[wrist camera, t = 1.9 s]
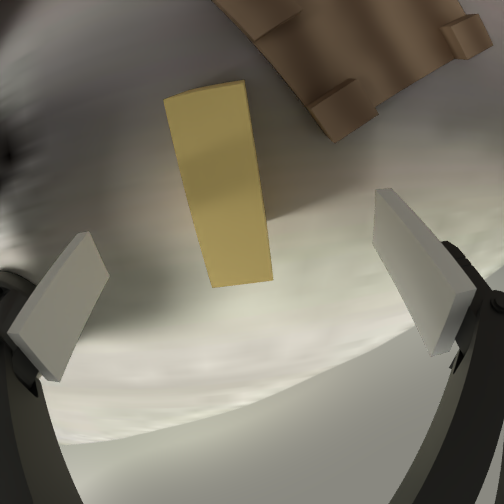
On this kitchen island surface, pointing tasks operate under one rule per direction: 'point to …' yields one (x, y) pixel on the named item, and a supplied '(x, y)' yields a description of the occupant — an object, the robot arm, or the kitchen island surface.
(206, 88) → the ochre bar
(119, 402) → the kitchen island surface
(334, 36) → the comb rack
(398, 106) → the kitchen island surface
